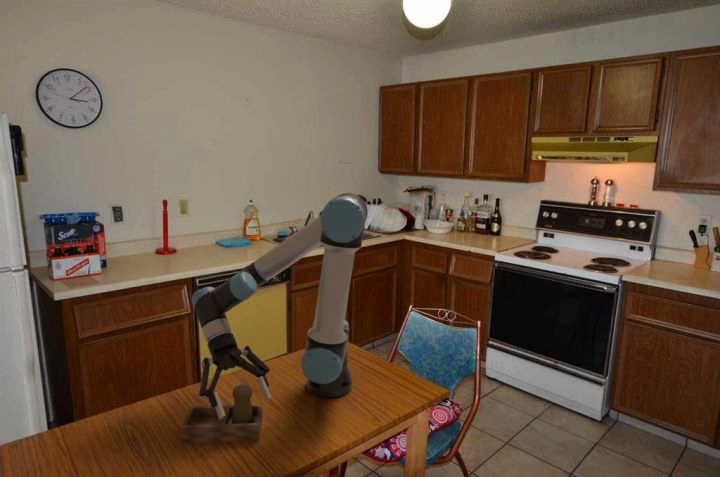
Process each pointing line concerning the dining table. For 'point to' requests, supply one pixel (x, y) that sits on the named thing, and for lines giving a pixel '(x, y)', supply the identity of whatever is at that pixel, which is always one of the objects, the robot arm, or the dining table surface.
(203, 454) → the dining table surface
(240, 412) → the cork
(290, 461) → the dining table surface
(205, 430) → the stand
